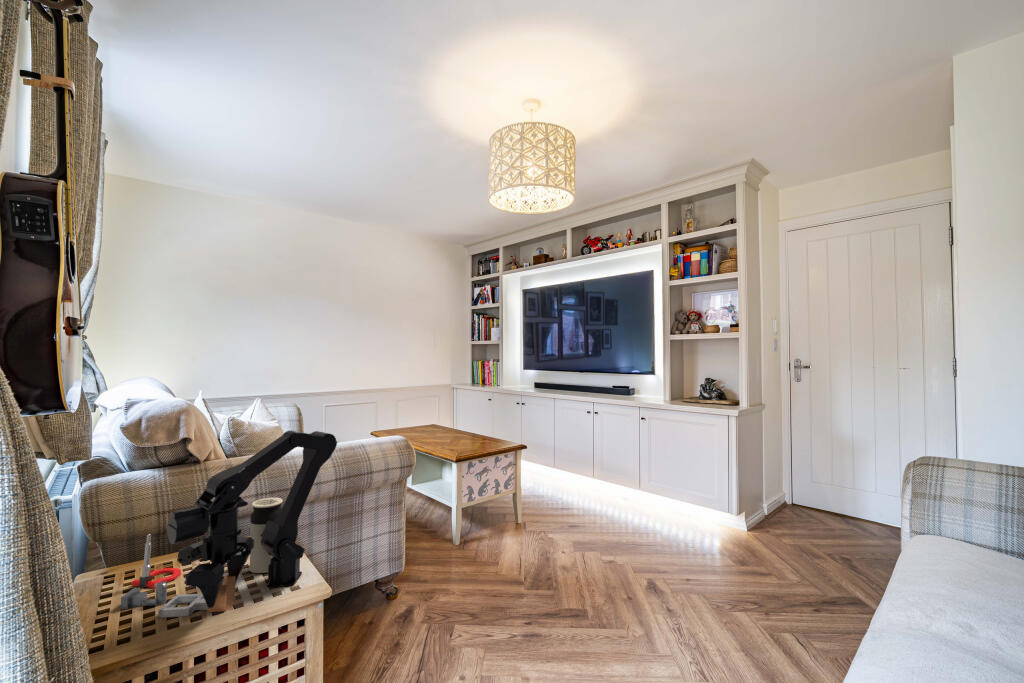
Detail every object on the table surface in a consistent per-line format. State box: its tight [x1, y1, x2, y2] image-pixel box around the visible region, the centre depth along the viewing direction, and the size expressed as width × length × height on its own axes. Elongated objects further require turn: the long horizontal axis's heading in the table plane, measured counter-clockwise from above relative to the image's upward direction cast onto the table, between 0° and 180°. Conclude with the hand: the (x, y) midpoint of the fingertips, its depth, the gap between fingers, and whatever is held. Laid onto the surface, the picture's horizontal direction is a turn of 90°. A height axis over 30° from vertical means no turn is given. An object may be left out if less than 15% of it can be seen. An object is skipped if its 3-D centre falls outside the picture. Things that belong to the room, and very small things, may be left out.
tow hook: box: [131, 533, 182, 589], centre depth 117 cm, size 8×13×9 cm
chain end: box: [157, 575, 236, 618], centre depth 104 cm, size 14×6×6 cm, turn 96°
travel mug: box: [249, 497, 283, 574], centre depth 124 cm, size 8×8×18 cm
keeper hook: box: [120, 582, 168, 610], centre depth 105 cm, size 8×4×4 cm, turn 96°
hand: (222, 596), depth 104 cm, fingers open, 9 cm apart
